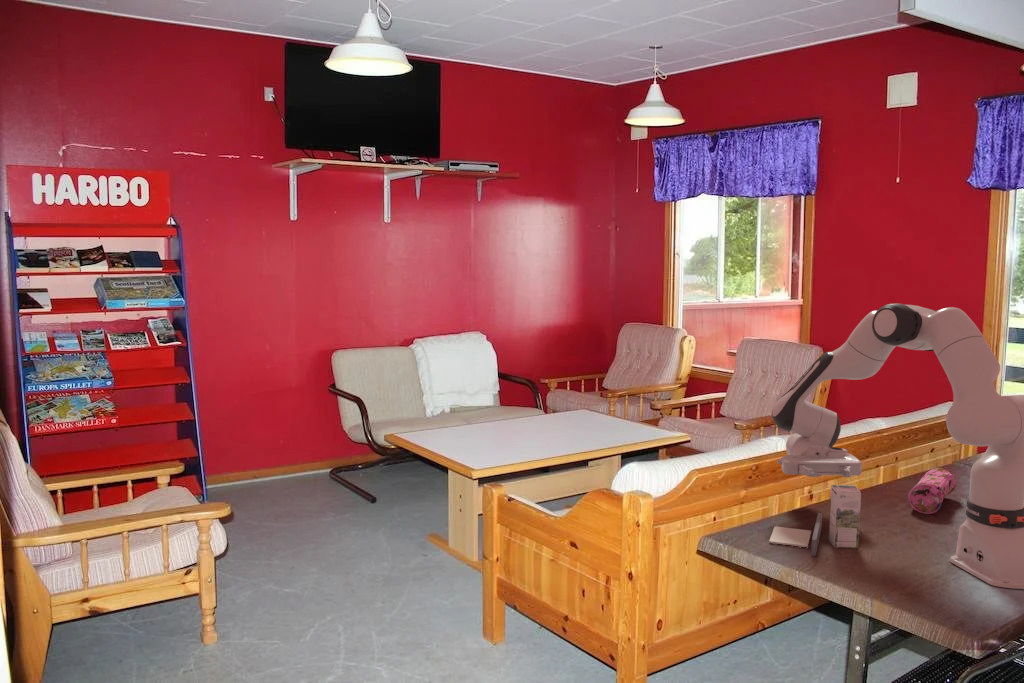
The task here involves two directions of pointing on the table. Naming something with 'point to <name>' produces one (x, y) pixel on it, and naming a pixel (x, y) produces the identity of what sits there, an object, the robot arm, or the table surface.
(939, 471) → the pencil case
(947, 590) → the table surface
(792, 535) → the pad
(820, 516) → the low wall
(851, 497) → the syrup box
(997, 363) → the robot arm
